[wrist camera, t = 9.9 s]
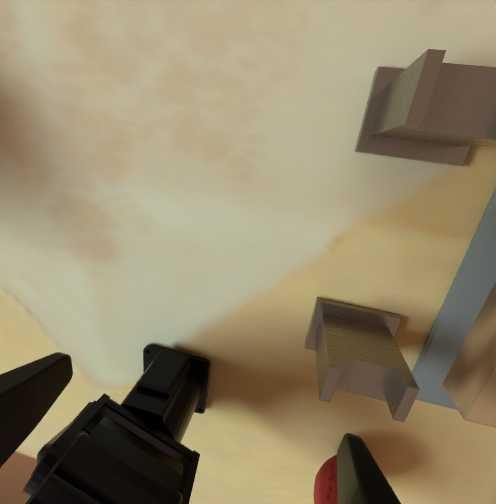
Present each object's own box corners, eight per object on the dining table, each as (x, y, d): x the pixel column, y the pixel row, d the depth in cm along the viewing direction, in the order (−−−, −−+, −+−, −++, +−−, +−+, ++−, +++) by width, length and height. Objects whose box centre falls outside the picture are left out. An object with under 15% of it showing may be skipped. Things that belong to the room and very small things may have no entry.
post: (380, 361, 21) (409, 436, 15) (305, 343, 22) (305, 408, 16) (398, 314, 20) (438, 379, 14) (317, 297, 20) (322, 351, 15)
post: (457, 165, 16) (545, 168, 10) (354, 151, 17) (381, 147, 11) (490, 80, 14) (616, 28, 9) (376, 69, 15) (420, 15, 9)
